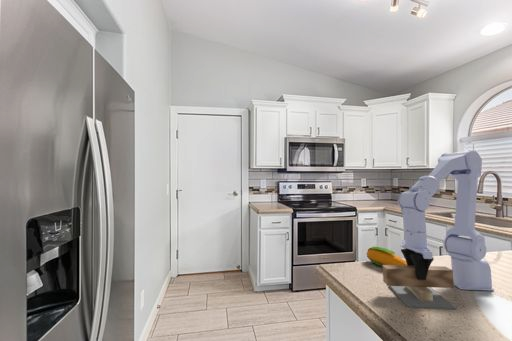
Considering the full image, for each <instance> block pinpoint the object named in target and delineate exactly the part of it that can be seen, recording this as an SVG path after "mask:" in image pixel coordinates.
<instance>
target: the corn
mask: <svg viewBox="0 0 512 341" xmlns="http://www.w3.org/2000/svg"><path fill="white" fill-rule="evenodd" d="M366 257H367V258H368V259H369V261H371V262H372V263H373V264H375V265H377V266H379V267H381V268H383V265H405V266H407V263H406V260H405V259H403V258H401V257H399V256H398V255H396V252H395V251H393V250H391V249H388V248H385V247H381V246H372V247H370V248H368V249H367V252H366Z"/></svg>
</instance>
